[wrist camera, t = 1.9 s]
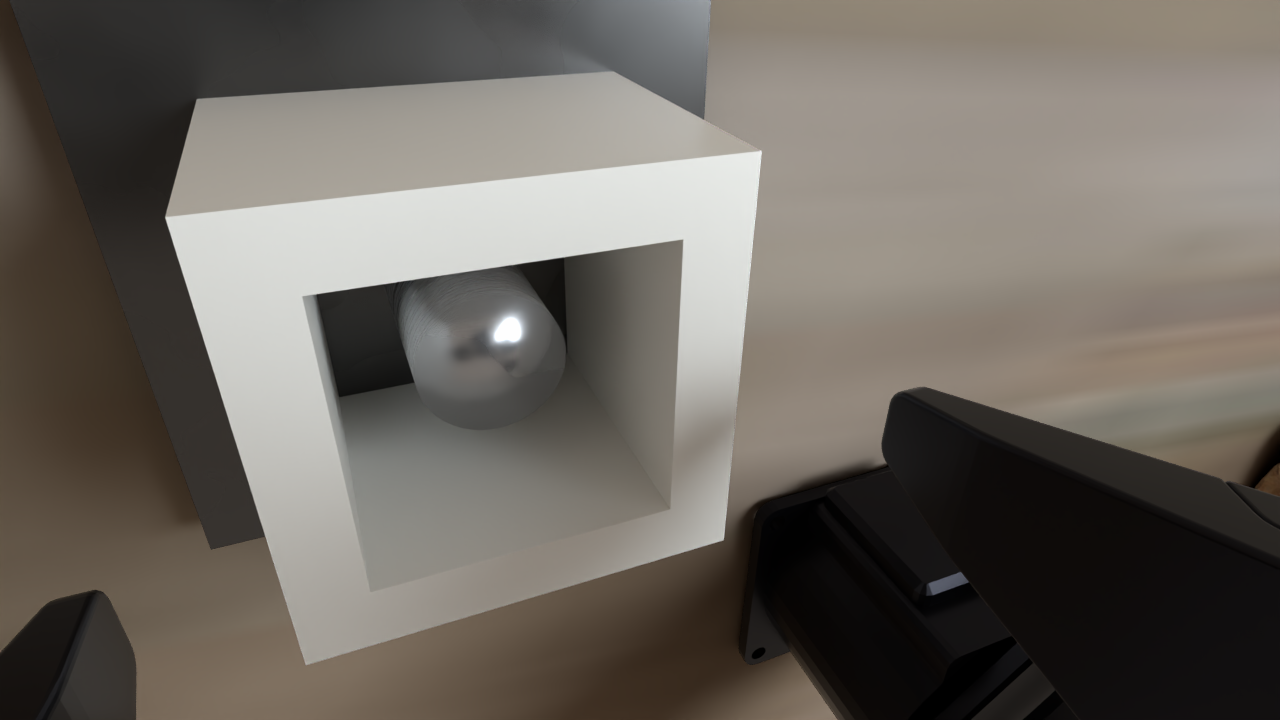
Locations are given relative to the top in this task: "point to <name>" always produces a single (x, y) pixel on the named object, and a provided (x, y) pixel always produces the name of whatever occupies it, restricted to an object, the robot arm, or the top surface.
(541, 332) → the stand
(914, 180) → the top surface
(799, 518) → the robot arm
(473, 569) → the collar
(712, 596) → the top surface
